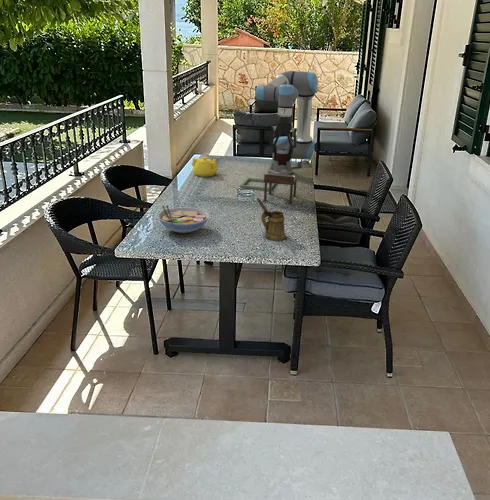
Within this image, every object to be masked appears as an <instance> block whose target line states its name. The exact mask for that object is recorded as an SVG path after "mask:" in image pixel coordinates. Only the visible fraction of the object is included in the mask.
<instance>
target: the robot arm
mask: <svg viewBox="0 0 490 500" xmlns="http://www.w3.org/2000/svg"><path fill="white" fill-rule="evenodd" d="M318 87H319V81H318V75H317V74H316V73H315V72H311V71H298V70H287V71H283V72H281V73H279V74H277V75H275V77H274V78H273V80H272V81H270V82H268V83H267V84H266V85H264V84H261V85H260V84H258V85H257V86H256V88H255V97H256V99H257V100H258V101H271V102H278V103H277V120H276V121H277V122H276V125H275V126H274V125H272V126H271V127H270V130H271V133H270V139H269V146H270V147H272V158H271V162H270V166H269V169H268V174H269V173H279V174H289V175H293V169H299V168H301V167H302V165H301V164H302V163H307V164H309V163H310V161H308V160H311V158H312V157H313V154H314V150H315V145H316V142H315V141H314V140H313V137H312V136H311V124H312V104H313V103H312V102H313V98H314V97H315V94H318V89H319V88H318ZM296 100H297V109H296V110H297V112H296V127H293V126H292V123H293V108H294V107H293V106H294V102H295V101H296ZM276 130H277V134H276V137H275V131H276ZM291 131H292V136H293V137H292V136H291V133H290V132H291ZM281 135H285V136H281ZM274 137H275V138H274ZM291 138H293V139H291ZM288 141H289V144H288ZM287 144H288V147H287ZM286 147H287V150H288V152H289V158H288V161H287V163H286V165H287V166H285V165H278V164H277V163H278V161H277V158H276V152H277V150H278V149H286ZM291 159H296V160H297V159H299V160H301V161H299V162H297V165H298V166H292V163H291Z"/></svg>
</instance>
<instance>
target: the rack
mask: <svg viewBox="0 0 490 500" xmlns="http://www.w3.org/2000/svg"><path fill="white" fill-rule="evenodd" d="M263 179H264V182H263V183H264V187H265V188H264V190H263V201H264V202H267V198H268V196H267V195H272V191H273V190H272V189H273V188H272V183H275V185H276V184H277V185H287V186H289V187H290V189H289V202H288V204H289V205H293V198H294V197H297V194H296V193H297V182H298V179H299V176H298V175H297V174H290V175H289V174H279V173H269V172H268V173H264V174H263ZM268 186H269V187H268ZM267 188H269V191H268V190H267Z"/></svg>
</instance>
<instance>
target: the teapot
mask: <svg viewBox="0 0 490 500" xmlns="http://www.w3.org/2000/svg"><path fill="white" fill-rule="evenodd" d="M217 161H218V160H217V158H213V159H211V158H208V156H202V157H201V158H197V157H193V158H192V162H191V166H192V167H193V169H192V173H194V175H195V176H197V177H202V178H209V177H214V175H216V173H217V171H218V170H219V168H218V164H217Z"/></svg>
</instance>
